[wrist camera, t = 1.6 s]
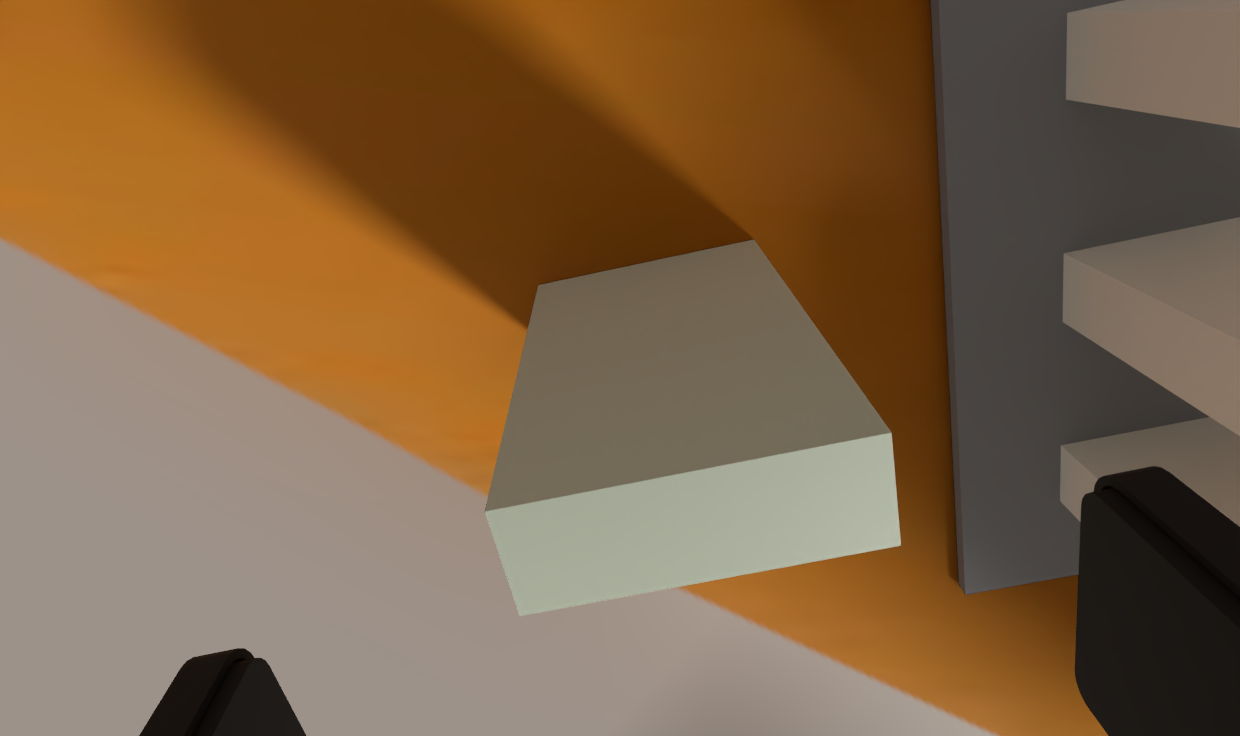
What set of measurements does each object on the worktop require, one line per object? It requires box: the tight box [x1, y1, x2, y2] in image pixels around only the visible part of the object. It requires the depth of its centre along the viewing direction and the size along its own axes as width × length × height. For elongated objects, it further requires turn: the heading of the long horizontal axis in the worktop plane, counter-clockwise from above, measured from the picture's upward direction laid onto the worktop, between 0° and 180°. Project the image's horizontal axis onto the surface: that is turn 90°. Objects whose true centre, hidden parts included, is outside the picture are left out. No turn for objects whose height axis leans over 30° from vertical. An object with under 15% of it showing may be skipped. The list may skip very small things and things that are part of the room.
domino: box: [485, 239, 901, 616], centre depth 17 cm, size 2×6×11 cm, turn 102°
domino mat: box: [931, 0, 1240, 595], centre depth 21 cm, size 25×12×1 cm, turn 12°
